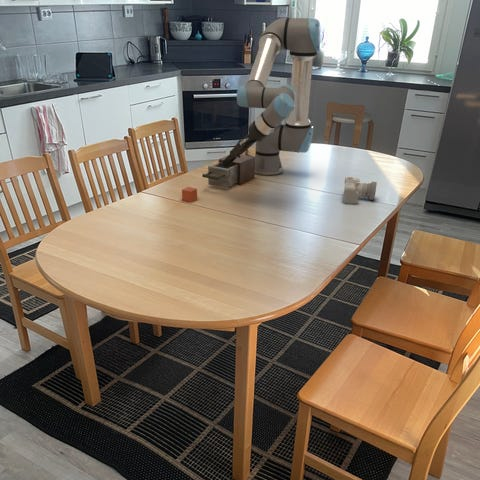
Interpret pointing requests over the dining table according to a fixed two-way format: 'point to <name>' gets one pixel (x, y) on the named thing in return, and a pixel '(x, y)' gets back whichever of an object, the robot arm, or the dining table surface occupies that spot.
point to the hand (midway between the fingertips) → (225, 164)
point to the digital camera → (357, 190)
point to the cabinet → (244, 167)
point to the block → (189, 194)
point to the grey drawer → (222, 175)
